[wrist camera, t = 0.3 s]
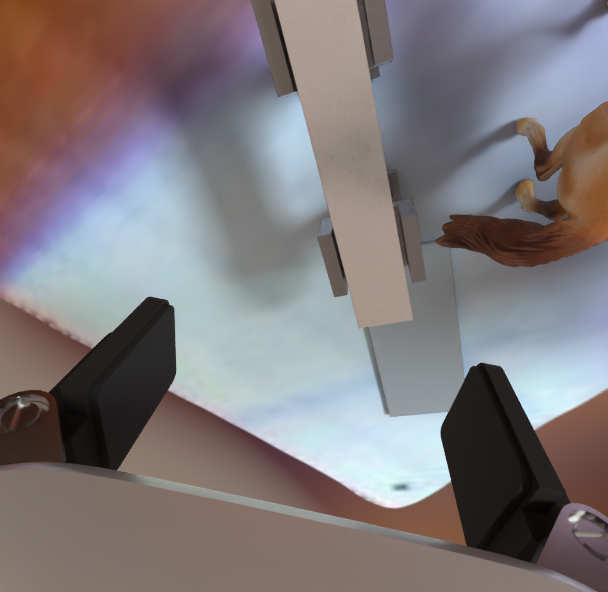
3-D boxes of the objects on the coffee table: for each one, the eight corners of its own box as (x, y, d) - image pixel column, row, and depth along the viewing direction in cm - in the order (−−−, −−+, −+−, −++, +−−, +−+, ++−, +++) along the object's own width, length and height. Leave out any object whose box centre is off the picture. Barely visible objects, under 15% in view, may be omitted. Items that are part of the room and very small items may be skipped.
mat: (447, 237, 38) (448, 239, 37) (466, 406, 48) (467, 409, 48) (351, 257, 40) (351, 259, 40) (389, 413, 51) (390, 416, 50)
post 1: (371, -11, 29) (376, -72, 18) (385, 74, 32) (396, 68, 20) (288, 21, 31) (244, -15, 20) (307, 99, 33) (279, 106, 22)
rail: (339, -88, 20) (334, -124, 16) (407, 293, 31) (413, 320, 27) (271, -57, 21) (252, -84, 18) (359, 301, 32) (359, 328, 28)
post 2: (400, 168, 35) (417, 206, 24) (409, 226, 38) (428, 286, 27) (329, 186, 37) (314, 230, 26) (343, 241, 40) (334, 302, 28)
